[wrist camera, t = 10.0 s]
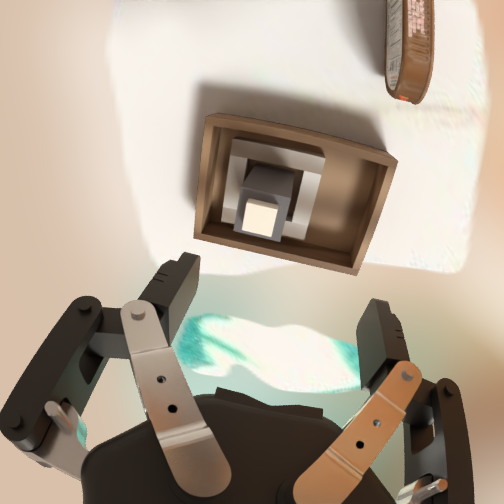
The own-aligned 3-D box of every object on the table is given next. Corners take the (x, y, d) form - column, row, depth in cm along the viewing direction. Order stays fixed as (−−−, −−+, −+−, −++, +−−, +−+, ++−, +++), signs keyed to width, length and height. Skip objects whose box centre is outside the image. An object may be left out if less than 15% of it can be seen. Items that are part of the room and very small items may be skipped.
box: (218, 113, 29) (206, 116, 25) (387, 152, 28) (398, 160, 24) (204, 222, 36) (193, 238, 32) (352, 256, 34) (356, 276, 31)
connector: (256, 162, 30) (238, 190, 22) (294, 171, 30) (290, 202, 22) (250, 198, 32) (230, 236, 25) (286, 206, 32) (278, 247, 24)
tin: (404, 103, 25) (436, 109, 18) (376, 96, 25) (400, 99, 18) (408, -21, 17) (436, -48, 10) (379, -29, 17) (400, -60, 10)
